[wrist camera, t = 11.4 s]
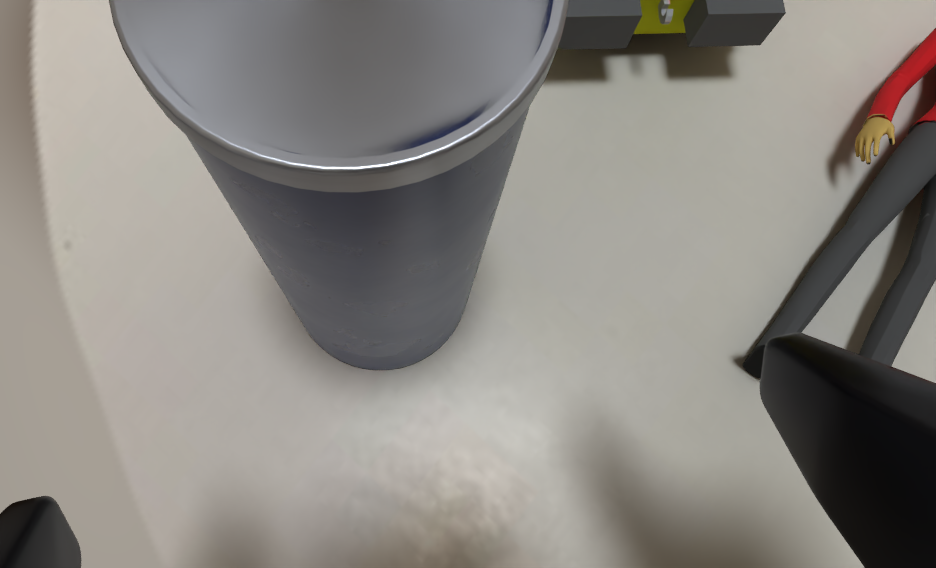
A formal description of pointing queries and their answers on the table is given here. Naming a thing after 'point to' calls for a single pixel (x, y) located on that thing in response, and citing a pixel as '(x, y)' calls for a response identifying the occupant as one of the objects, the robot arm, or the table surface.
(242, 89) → the tin
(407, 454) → the table surface
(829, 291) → the person figure
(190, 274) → the table surface
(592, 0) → the toy train
